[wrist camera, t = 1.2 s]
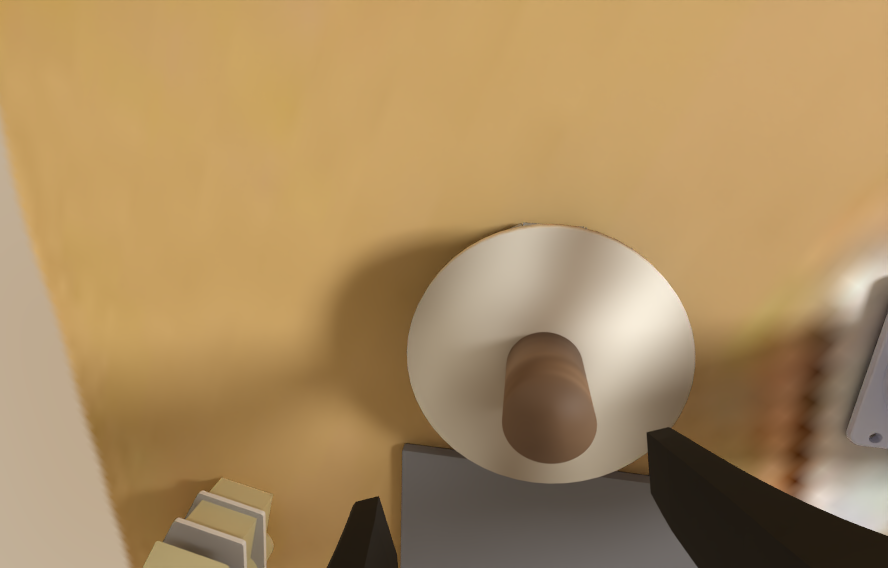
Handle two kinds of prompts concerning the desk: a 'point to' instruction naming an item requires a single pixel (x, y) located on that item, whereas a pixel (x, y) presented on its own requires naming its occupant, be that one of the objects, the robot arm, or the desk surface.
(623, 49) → the desk surface
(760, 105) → the desk surface
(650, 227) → the desk surface
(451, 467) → the mat
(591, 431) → the lid
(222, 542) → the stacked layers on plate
